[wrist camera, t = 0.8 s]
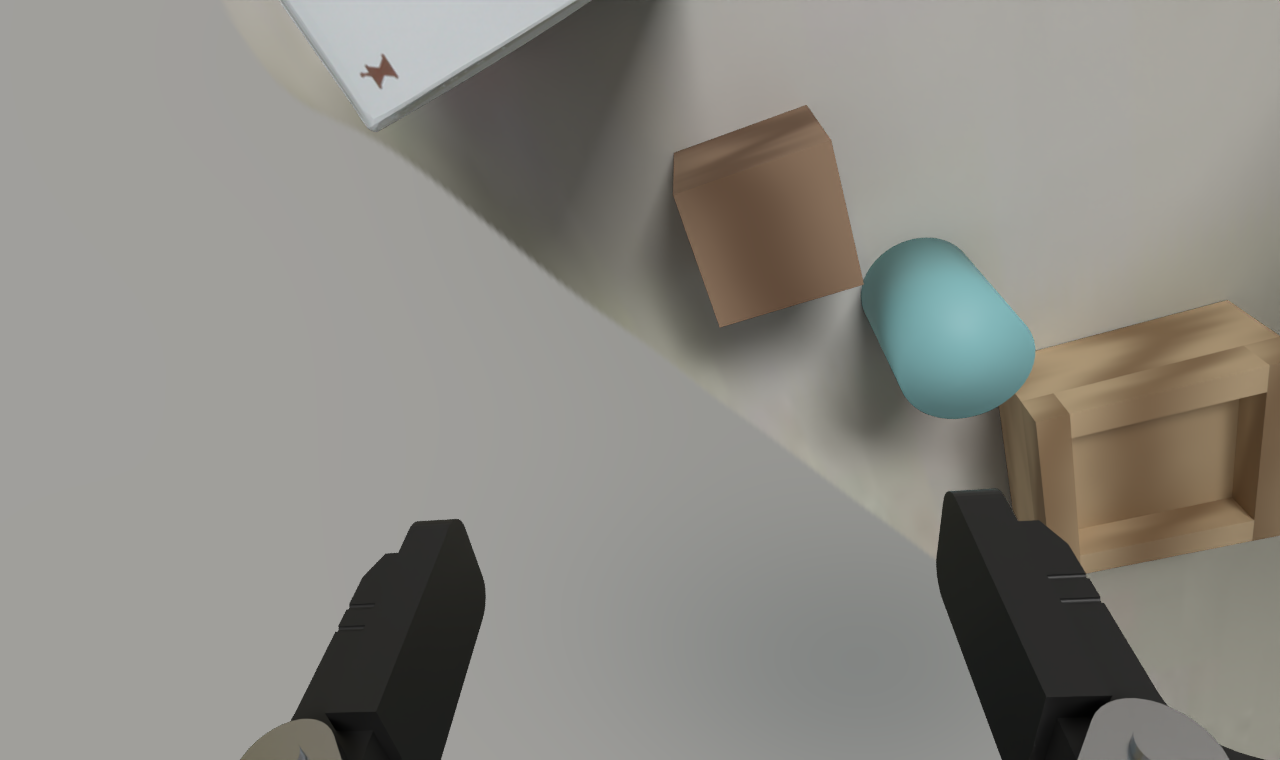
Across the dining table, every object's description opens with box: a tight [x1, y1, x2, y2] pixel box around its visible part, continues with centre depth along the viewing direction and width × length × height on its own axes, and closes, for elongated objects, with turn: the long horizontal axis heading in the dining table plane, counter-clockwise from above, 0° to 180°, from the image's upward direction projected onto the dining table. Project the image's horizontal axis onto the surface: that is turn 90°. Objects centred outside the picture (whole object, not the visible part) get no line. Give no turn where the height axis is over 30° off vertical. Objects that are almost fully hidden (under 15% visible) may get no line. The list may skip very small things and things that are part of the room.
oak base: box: [999, 300, 1280, 573], centre depth 30 cm, size 9×9×4 cm
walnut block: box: [673, 105, 864, 327], centre depth 25 cm, size 5×5×5 cm
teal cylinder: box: [861, 238, 1035, 419], centre depth 27 cm, size 4×4×6 cm
